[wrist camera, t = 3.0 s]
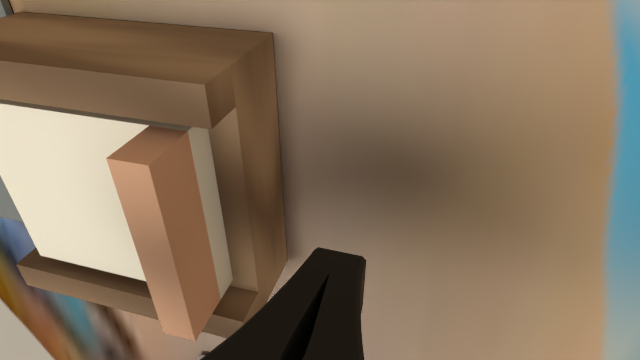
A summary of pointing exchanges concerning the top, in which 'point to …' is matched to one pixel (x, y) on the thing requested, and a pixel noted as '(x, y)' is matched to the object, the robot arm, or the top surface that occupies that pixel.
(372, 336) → the top surface
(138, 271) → the lid
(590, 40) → the top surface
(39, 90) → the walnut box
